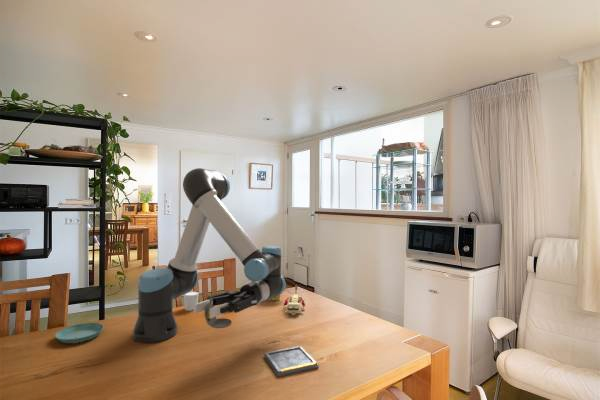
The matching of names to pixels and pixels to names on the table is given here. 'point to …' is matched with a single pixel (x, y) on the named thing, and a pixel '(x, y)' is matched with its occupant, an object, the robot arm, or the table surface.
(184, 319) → the table surface
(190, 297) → the white cup
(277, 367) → the pocket plate
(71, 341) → the saucer
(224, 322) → the pocket watch
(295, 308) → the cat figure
